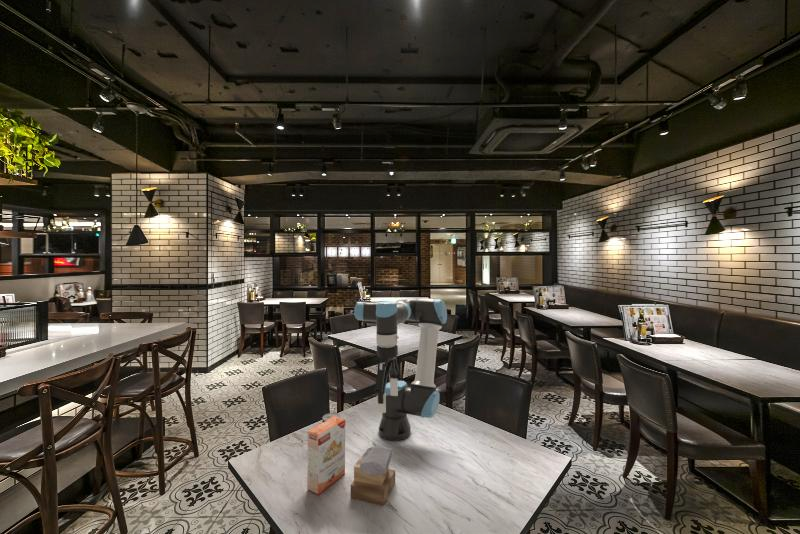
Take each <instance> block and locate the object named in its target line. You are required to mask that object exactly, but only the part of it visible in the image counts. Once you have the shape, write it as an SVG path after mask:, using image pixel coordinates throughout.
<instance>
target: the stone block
mask: <svg viewBox="0 0 800 534" xmlns="http://www.w3.org/2000/svg"><path fill="white" fill-rule="evenodd" d="M392 450H393V449H392V448H391V447H386V446H381V445H379V446H378V445H376V446H371V447H368V448H367V449H366V450H365V452H364V453H363V454H364V455H363V457H362V459H361V463H360V468H361V471H362V473H365V474H368V475H385V474H386V472H387V469H388V466H390V462H391V460H392V454H393V451H392Z"/></svg>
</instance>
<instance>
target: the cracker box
mask: <svg viewBox="0 0 800 534" xmlns="http://www.w3.org/2000/svg"><path fill="white" fill-rule="evenodd" d="M345 474H346V419H345V418H341V417H340V418H338V417H336V416H334V417H332V418H330V419H329V420H327V421H325V422H322V423H320V424H318V425H316V426H314V427H313V428H311V429H309V430H307V481H306V482H307V485H306V486H307V490H309V491H310V492H312V493H314V494H316V495H320V494H321V493H322V492H324V491H325V490H326V489H328V487H330V486H331V485H332V484H334V483H335V482H336V481H338V479H340V478H341V477H342V476H344V475H345Z"/></svg>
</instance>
